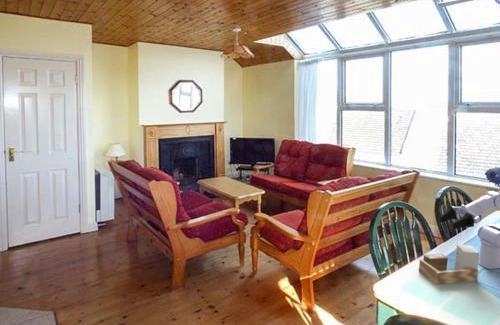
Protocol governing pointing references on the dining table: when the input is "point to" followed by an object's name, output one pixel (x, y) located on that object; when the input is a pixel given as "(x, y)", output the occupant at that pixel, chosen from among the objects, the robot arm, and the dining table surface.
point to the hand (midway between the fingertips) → (446, 223)
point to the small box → (466, 257)
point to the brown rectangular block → (437, 261)
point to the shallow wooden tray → (447, 274)
